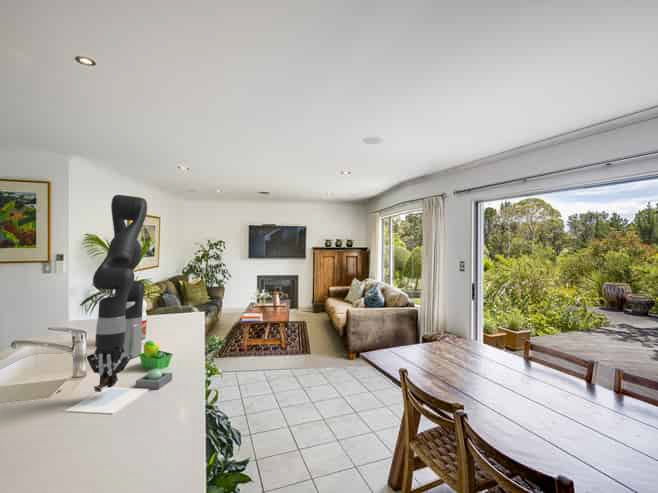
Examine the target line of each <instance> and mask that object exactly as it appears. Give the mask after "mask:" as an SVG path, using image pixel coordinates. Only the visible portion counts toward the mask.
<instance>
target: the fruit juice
mask: <svg viewBox="0 0 658 493" xmlns="http://www.w3.org/2000/svg"><path fill="white" fill-rule="evenodd" d="M134 304H135V302H126V309H127V308H129V307H131V306H133V305H134ZM147 309H148V302H147V301H146V299H145V298H144V297H143V307H142V327H141V332H142V343H144V342H146V340H147V339H146V338H147V325H148V324H147V319H148V314H147ZM144 344H145V343H144Z"/></svg>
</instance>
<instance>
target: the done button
mask: <svg viewBox="0 0 658 493" xmlns="http://www.w3.org/2000/svg"><path fill="white" fill-rule="evenodd" d="M162 373H163V369H150V370H148V371H147V374H148V378H147V380H158V379H160V378H161V377H162Z"/></svg>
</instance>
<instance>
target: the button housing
mask: <svg viewBox="0 0 658 493" xmlns="http://www.w3.org/2000/svg"><path fill="white" fill-rule="evenodd" d="M147 378H148V373H147V374H145V375H143V376H142V377H140V378H138V379H137V380H135V388H144V389H149V390H160V389H162V388H163V387H164V386H166V385H167V384H168V383H169V382H171V381H172V380H173V373H172V372H162V377H161V378H160V379H158V380H147Z"/></svg>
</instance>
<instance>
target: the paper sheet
mask: <svg viewBox="0 0 658 493" xmlns="http://www.w3.org/2000/svg"><path fill="white" fill-rule="evenodd" d="M101 390H102V391H101V392H96V393H95V394H93V395H91V396H89V397H87V398H85V399H84V400H82V401H80V402H78V403H76V404H75V405H73V406H70V407H69V408H66V409H65V410H64V413H83V414H103V415H104V414H105V415H114V414H115V413H117V412H118V411H119V410H122V408H124V407H126V406H127V405H128V404H130V403H131V402H133V401H134V400H135V399H137V398H139V397H141V396H142V395H143V394H145V393H146V392H148V391H149V390H150V389H144V388H136V387H117V386H112V387H110V388H108V387H107V386H106V387H105V388H104V389H101Z"/></svg>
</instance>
